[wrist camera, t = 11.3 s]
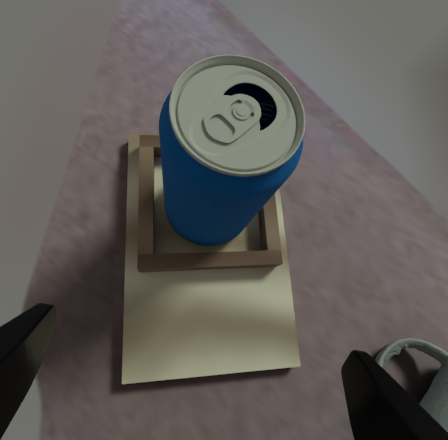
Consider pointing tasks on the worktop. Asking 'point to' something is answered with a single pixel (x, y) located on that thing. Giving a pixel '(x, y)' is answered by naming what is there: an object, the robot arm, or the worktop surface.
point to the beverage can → (226, 145)
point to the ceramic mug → (442, 383)
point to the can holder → (200, 288)
